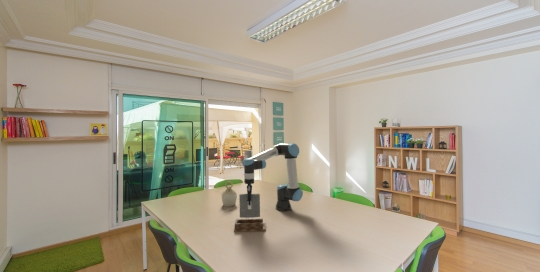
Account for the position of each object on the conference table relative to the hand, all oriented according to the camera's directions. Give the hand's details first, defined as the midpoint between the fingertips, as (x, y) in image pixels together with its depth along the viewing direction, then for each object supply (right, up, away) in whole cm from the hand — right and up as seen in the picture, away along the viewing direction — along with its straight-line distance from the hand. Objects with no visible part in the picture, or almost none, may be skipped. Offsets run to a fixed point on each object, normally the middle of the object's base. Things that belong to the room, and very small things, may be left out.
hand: (249, 208), depth 182 cm
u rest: (0, -16, 0) cm, 16 cm away
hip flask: (0, -7, 0) cm, 7 cm away
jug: (-26, -16, +60) cm, 67 cm away
